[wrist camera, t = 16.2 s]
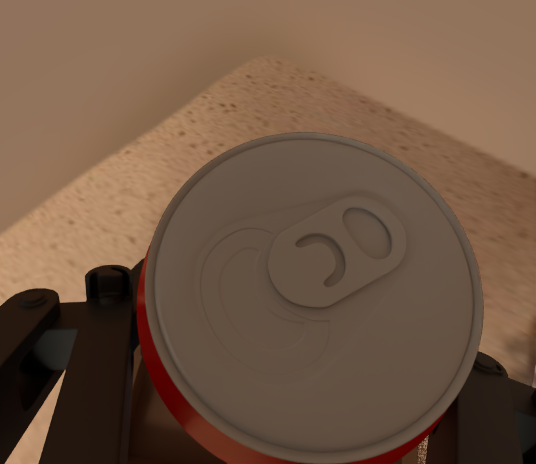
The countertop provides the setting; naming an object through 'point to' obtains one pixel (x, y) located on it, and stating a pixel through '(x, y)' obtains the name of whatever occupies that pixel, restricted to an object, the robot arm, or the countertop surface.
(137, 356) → the rectangular tray
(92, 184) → the countertop surface
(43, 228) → the countertop surface
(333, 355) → the soda can
